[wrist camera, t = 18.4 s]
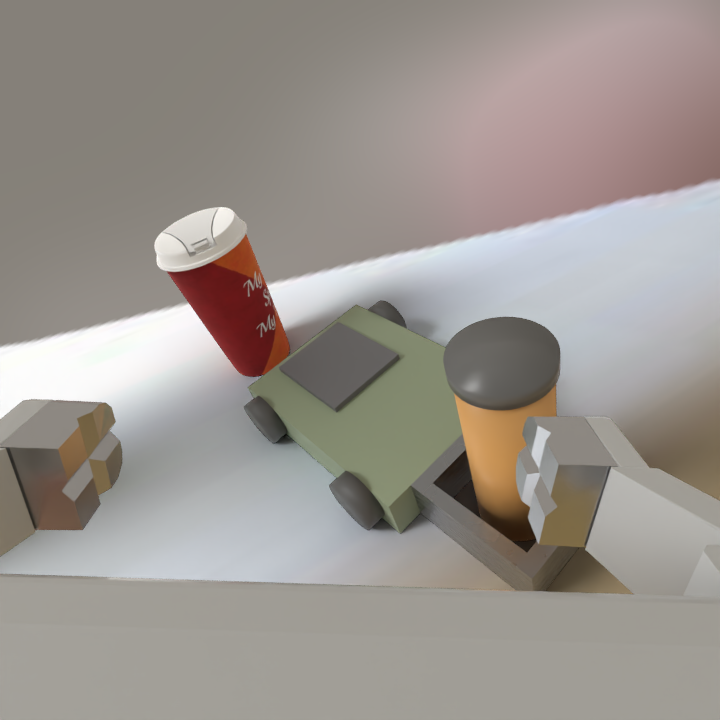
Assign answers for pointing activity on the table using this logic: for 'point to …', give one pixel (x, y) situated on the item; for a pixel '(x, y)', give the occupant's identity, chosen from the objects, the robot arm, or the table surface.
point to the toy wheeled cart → (363, 410)
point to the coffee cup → (225, 287)
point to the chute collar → (482, 526)
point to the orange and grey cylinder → (501, 408)
